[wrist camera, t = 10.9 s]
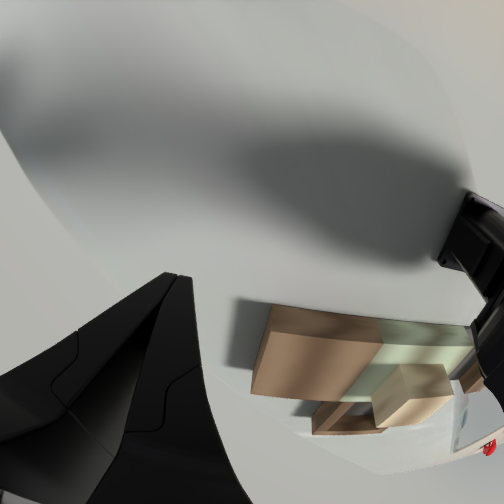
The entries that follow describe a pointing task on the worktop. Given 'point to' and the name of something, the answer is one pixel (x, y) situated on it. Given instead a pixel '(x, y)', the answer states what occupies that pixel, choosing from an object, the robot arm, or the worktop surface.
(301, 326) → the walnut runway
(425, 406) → the beech block
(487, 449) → the cap
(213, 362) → the worktop surface
